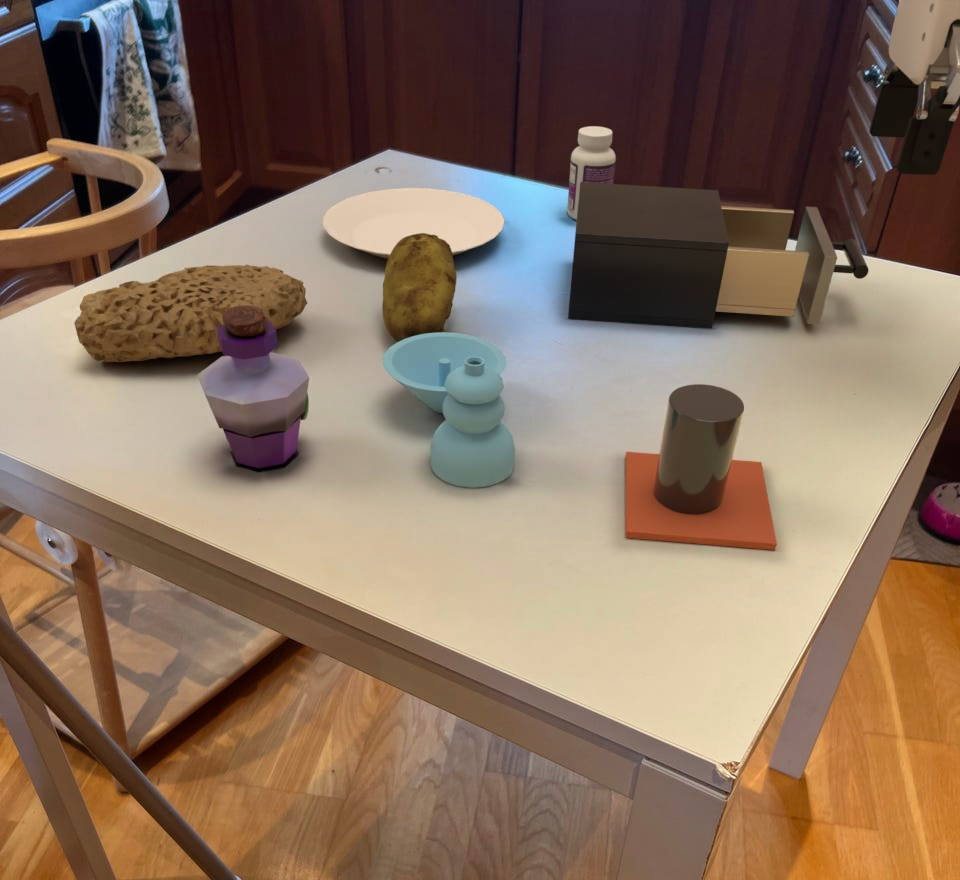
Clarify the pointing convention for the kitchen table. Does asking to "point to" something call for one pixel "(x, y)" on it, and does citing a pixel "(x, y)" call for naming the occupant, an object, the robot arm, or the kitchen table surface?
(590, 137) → the pill bottle
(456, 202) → the plate
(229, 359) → the potion bottle
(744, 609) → the kitchen table surface
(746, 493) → the mat
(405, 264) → the potato
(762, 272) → the drawer
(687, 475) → the dark glossy cylinder
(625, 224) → the dark brown box
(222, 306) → the sponge
